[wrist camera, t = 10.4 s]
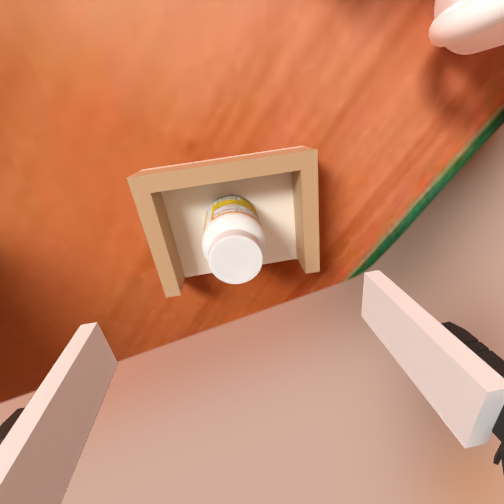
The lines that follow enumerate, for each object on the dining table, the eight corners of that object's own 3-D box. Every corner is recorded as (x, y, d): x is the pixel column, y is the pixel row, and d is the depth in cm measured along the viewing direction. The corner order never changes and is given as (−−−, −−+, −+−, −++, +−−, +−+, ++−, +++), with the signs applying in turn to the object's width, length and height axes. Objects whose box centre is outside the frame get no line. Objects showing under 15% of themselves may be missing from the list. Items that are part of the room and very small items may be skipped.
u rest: (173, 275, 31) (166, 297, 27) (141, 169, 26) (126, 177, 22) (307, 252, 32) (319, 271, 27) (302, 145, 26) (317, 149, 22)
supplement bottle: (226, 182, 26) (229, 209, 17) (267, 214, 28) (288, 253, 19) (195, 223, 27) (183, 268, 19) (235, 251, 29) (242, 303, 21)
